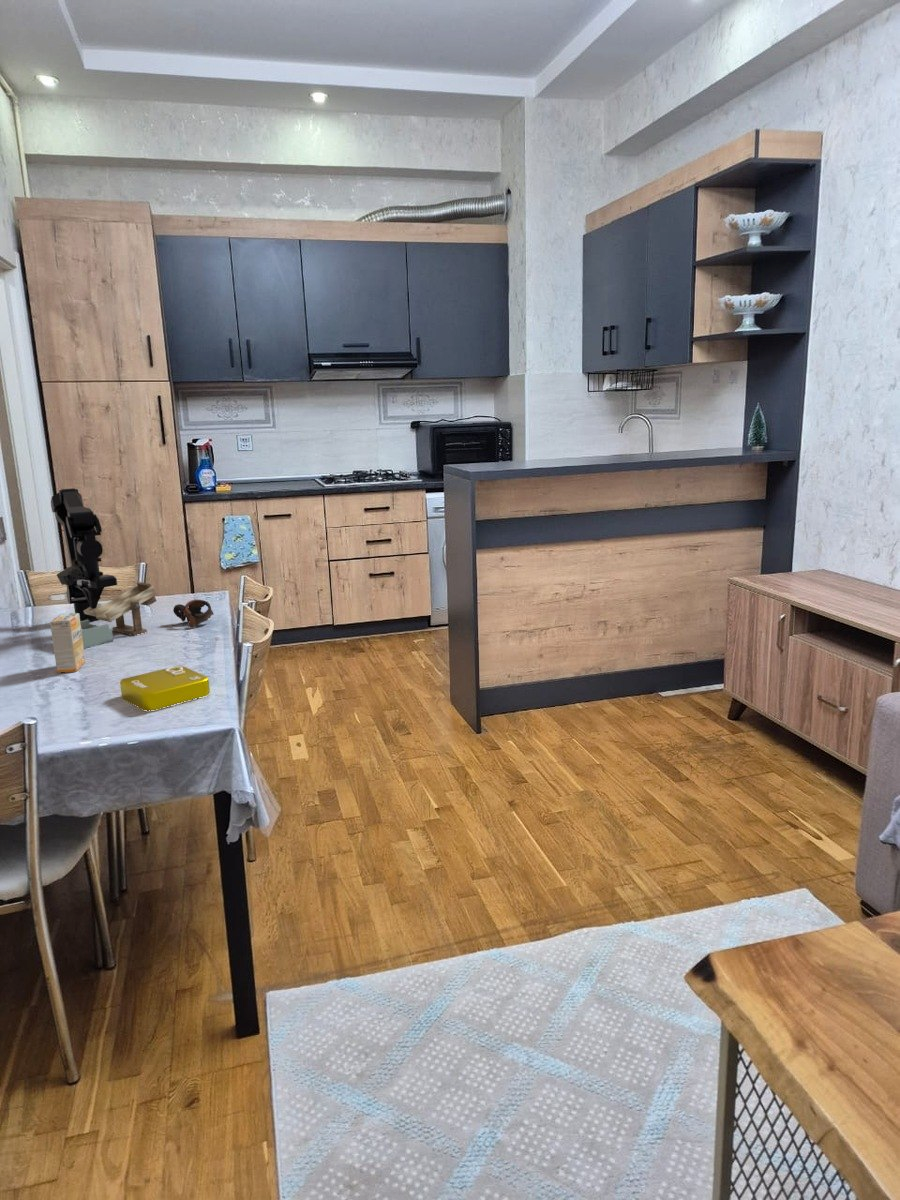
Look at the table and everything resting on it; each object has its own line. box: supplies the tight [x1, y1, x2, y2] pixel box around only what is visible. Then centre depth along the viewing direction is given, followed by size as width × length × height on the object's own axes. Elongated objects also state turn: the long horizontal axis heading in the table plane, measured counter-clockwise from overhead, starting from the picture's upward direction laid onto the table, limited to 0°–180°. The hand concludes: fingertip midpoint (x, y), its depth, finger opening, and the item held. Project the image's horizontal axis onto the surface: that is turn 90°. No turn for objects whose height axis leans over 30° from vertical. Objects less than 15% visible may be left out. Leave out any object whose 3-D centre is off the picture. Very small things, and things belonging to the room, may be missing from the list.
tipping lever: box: [83, 581, 157, 623], centre depth 232 cm, size 16×15×5 cm
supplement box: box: [49, 612, 86, 674], centre depth 197 cm, size 8×5×13 cm, turn 9°
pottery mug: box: [172, 599, 215, 628], centre depth 238 cm, size 12×10×8 cm
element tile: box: [119, 665, 211, 712], centre depth 175 cm, size 15×15×5 cm
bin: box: [80, 620, 114, 649], centre depth 220 cm, size 11×11×5 cm
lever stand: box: [111, 597, 148, 636], centre depth 230 cm, size 4×11×10 cm, turn 54°
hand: (93, 608), depth 231 cm, fingers closed, pressing on tipping lever
